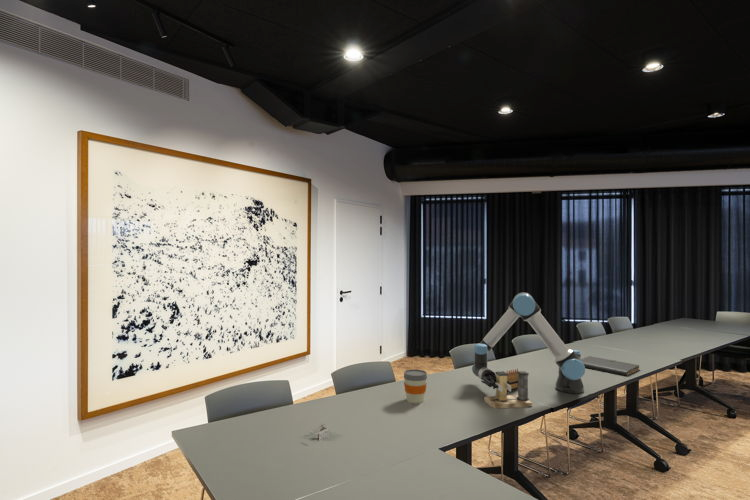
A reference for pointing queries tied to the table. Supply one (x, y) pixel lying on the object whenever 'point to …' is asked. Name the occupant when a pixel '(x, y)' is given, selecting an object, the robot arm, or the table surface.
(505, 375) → the brass leg
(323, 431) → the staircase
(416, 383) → the reusable coffee cup
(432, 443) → the table surface
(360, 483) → the table surface
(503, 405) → the tan and grey stand
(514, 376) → the ammunition clip
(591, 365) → the grey hardcover book
